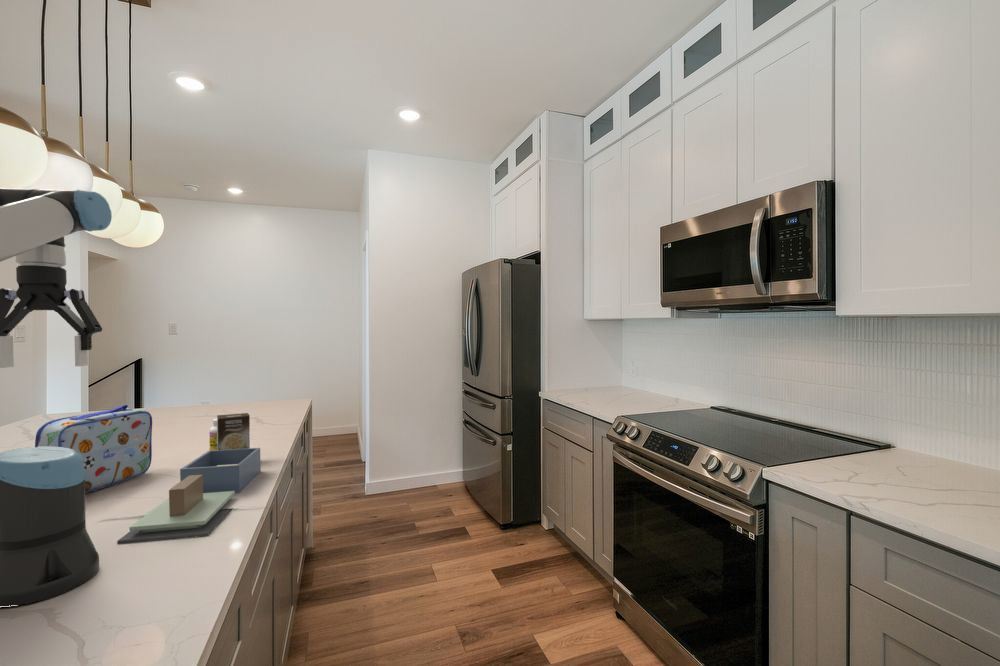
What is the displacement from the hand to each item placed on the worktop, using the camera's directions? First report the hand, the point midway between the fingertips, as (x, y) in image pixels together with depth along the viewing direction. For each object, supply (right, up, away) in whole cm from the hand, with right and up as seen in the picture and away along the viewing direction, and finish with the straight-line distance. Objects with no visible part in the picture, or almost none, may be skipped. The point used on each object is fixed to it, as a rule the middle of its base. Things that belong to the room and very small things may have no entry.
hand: (44, 366), depth 98 cm
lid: (+23, -36, +11) cm, 44 cm away
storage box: (+19, -36, +32) cm, 52 cm away
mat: (+23, -36, +11) cm, 44 cm away
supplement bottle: (0, -36, +62) cm, 71 cm away
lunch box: (-17, -36, +33) cm, 52 cm away
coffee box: (+10, -36, +52) cm, 64 cm away
